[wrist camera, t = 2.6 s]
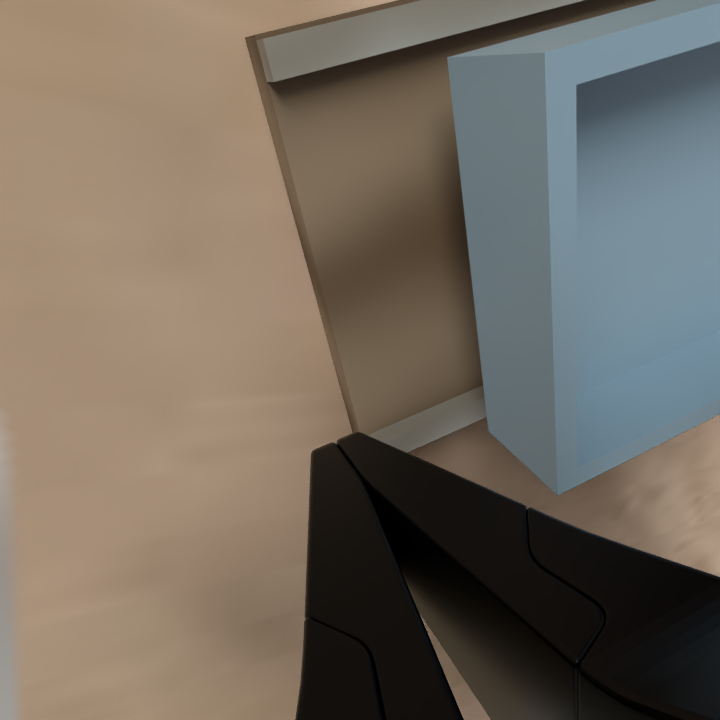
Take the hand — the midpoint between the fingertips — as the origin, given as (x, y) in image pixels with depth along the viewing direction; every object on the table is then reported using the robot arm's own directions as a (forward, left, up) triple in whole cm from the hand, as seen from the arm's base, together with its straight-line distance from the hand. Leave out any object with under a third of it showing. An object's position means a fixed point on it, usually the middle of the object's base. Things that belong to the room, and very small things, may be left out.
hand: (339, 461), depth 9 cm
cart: (0, -13, -6) cm, 14 cm away
